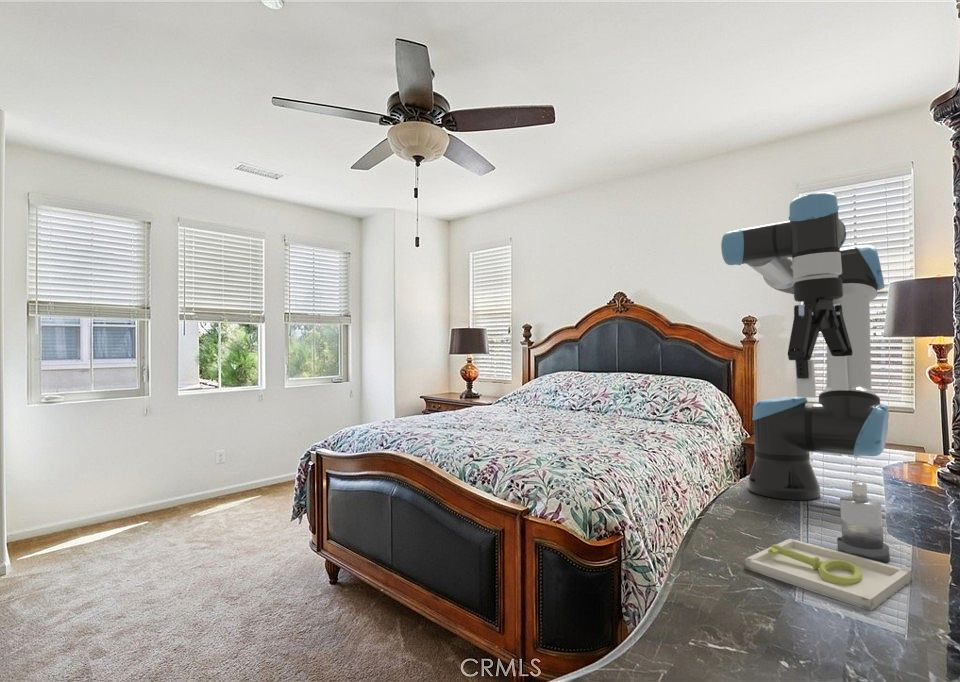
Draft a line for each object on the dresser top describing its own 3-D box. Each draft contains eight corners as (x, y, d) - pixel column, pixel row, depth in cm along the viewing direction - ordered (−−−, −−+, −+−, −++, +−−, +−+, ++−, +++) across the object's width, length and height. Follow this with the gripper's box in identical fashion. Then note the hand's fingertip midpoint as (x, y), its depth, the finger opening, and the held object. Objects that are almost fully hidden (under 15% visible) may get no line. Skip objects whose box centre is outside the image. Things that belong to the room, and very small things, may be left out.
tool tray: (790, 546, 89) (789, 538, 89) (911, 580, 75) (911, 570, 75) (744, 568, 81) (743, 559, 81) (871, 610, 67) (870, 599, 67)
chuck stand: (848, 544, 89) (844, 476, 90) (896, 556, 84) (892, 484, 84) (830, 553, 86) (826, 482, 86) (880, 567, 80) (875, 491, 80)
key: (770, 555, 84) (769, 542, 85) (862, 572, 77) (861, 558, 77) (764, 570, 79) (763, 556, 79) (863, 590, 71) (862, 575, 71)
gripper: (824, 283, 103) (830, 386, 103) (761, 279, 89) (768, 398, 89) (868, 278, 97) (874, 388, 97) (807, 273, 83) (815, 401, 83)
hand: (823, 393), depth 93 cm, fingers open, 13 cm apart
